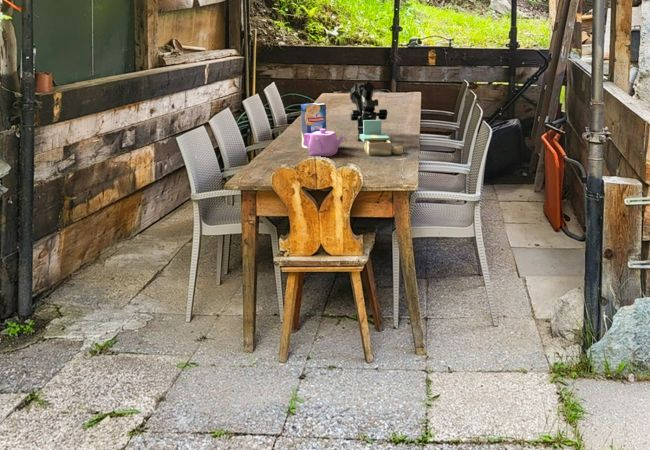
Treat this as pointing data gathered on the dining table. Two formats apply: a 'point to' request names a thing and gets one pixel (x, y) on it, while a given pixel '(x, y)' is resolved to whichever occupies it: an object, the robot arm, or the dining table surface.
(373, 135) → the teal l-shaped bracket
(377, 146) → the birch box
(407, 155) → the dining table surface
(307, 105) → the beverage box
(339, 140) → the teakettle
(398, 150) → the tape roll
